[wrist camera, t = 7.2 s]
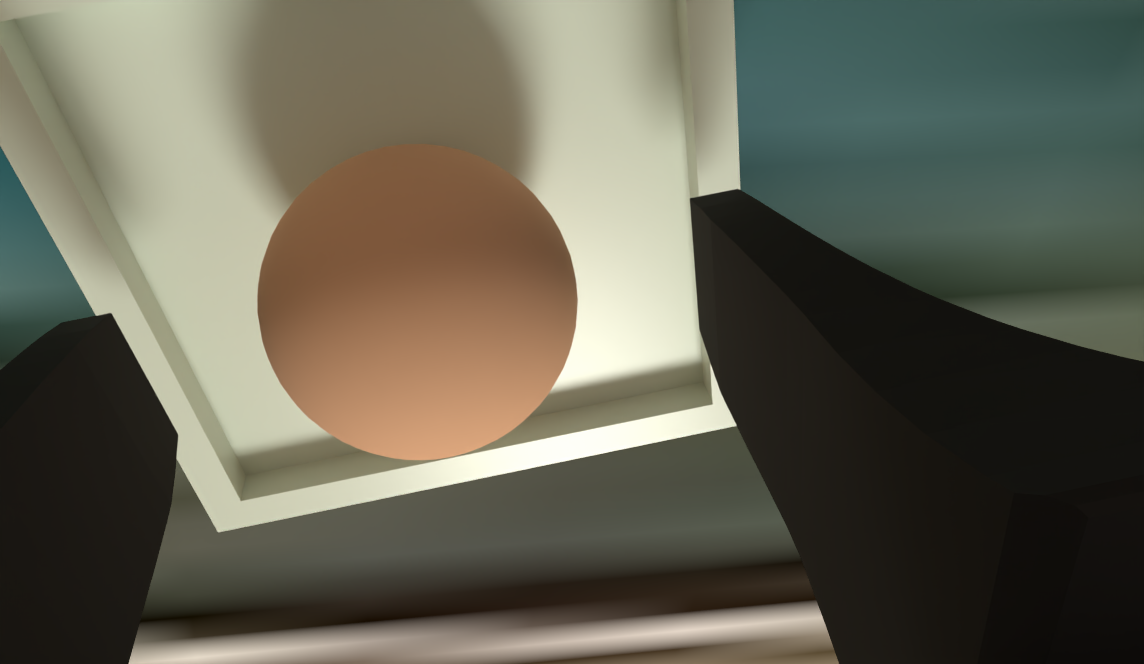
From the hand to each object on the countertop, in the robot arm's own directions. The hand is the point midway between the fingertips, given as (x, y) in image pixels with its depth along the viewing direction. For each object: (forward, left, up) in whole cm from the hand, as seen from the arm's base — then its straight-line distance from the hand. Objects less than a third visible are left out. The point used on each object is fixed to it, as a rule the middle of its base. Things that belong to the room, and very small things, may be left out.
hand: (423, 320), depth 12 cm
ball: (0, 0, -2) cm, 2 cm away
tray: (0, 0, -3) cm, 3 cm away
